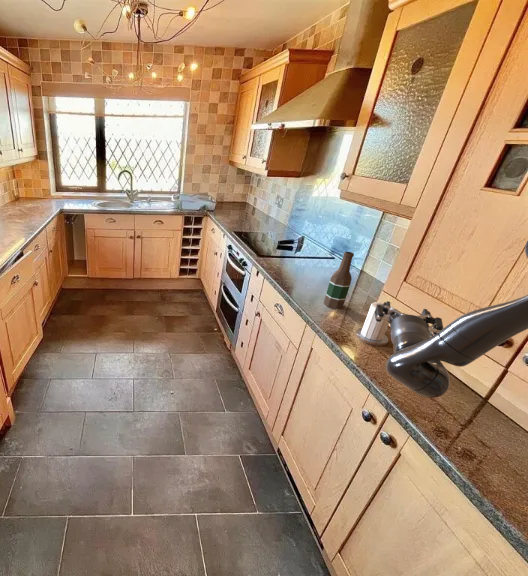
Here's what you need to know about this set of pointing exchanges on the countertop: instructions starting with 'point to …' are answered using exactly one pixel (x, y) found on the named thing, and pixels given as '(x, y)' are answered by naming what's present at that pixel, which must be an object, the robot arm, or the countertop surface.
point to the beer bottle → (339, 283)
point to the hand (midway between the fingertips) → (405, 307)
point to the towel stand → (371, 342)
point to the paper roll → (374, 324)
